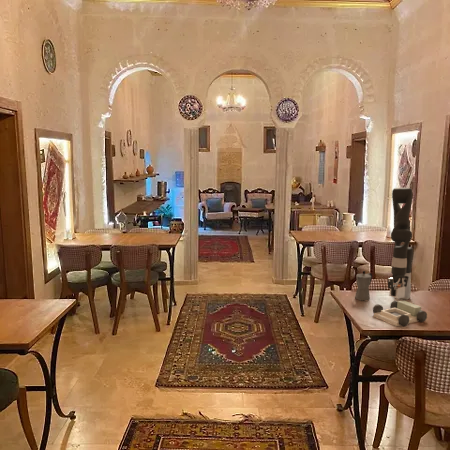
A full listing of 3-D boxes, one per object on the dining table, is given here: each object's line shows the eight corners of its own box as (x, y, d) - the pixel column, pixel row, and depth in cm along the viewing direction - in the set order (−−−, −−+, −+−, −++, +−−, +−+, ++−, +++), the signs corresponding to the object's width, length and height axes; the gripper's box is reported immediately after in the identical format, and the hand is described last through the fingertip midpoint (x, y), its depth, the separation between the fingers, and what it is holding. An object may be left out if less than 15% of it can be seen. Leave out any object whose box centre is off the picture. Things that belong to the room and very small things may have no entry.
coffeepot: (362, 302, 273) (364, 274, 270) (349, 298, 281) (351, 271, 278) (376, 297, 283) (378, 270, 280) (364, 294, 290) (365, 267, 287)
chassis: (398, 309, 261) (399, 298, 260) (427, 320, 244) (428, 308, 243) (371, 315, 251) (371, 303, 250) (399, 327, 233) (400, 314, 232)
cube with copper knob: (396, 294, 248) (397, 282, 247) (404, 297, 243) (405, 284, 242) (389, 295, 245) (390, 283, 244) (397, 298, 240) (398, 286, 239)
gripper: (402, 262, 248) (400, 291, 250) (384, 265, 241) (382, 295, 244) (414, 265, 241) (411, 295, 244) (395, 268, 235) (393, 299, 237)
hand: (396, 295), depth 244 cm, fingers closed on cube with copper knob, 5 cm apart
